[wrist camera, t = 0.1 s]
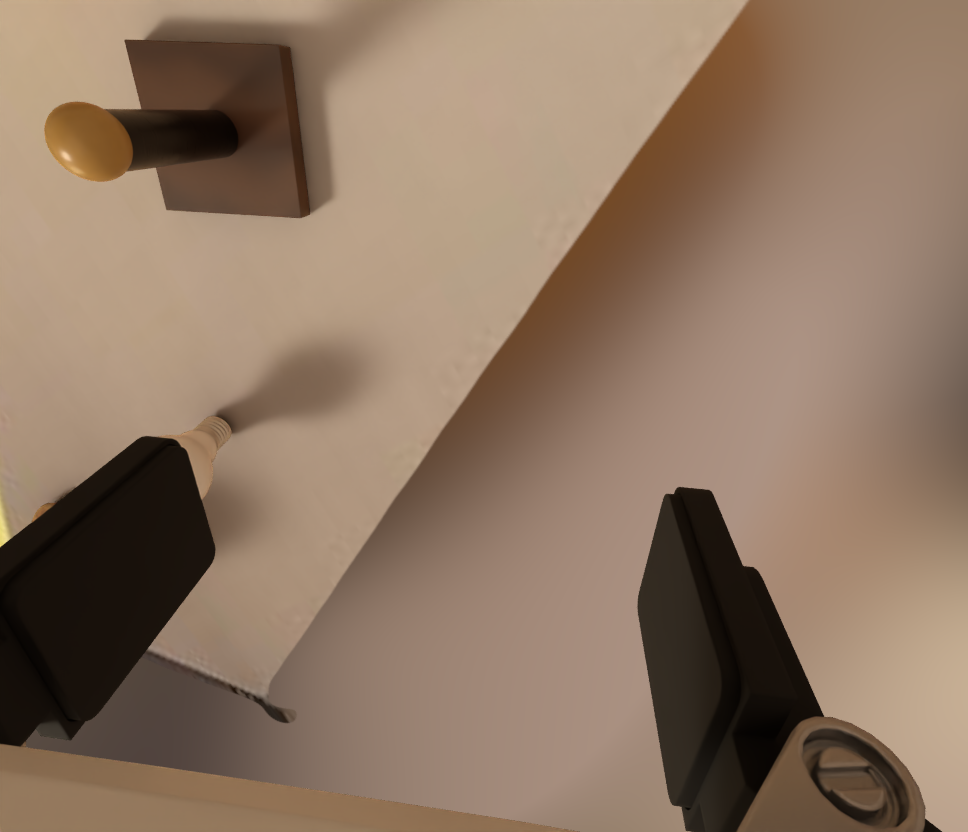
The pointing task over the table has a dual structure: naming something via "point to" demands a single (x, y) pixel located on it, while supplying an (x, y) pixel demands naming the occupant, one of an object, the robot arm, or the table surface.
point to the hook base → (254, 112)
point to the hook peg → (134, 138)
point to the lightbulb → (204, 448)
